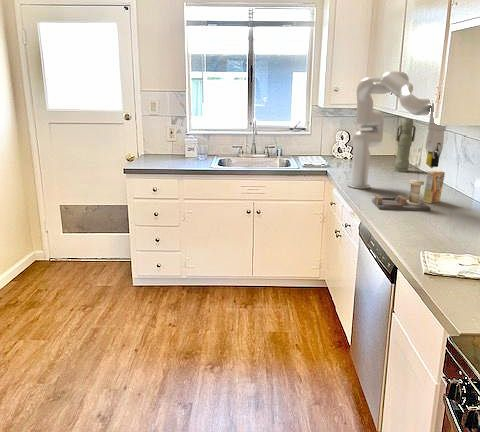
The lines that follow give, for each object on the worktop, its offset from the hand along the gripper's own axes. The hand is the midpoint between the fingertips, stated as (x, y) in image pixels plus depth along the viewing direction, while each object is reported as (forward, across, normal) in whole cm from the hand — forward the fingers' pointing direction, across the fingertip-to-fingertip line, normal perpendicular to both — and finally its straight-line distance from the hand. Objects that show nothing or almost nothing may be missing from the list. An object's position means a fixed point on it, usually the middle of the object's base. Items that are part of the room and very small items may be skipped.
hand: (431, 165), depth 218 cm
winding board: (+20, +3, -13) cm, 24 cm away
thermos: (+20, -89, +13) cm, 92 cm away
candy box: (+20, -8, +6) cm, 23 cm away
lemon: (+2, 0, 0) cm, 2 cm away
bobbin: (+19, +3, -7) cm, 20 cm away
